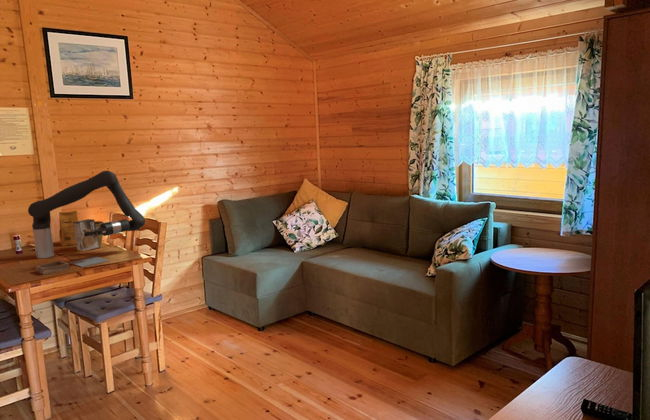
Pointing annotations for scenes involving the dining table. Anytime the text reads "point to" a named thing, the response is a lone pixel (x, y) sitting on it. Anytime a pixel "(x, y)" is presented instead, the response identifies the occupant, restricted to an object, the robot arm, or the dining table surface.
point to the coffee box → (81, 239)
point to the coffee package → (67, 227)
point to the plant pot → (99, 237)
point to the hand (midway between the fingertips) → (81, 233)
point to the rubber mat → (88, 261)
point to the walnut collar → (52, 267)
